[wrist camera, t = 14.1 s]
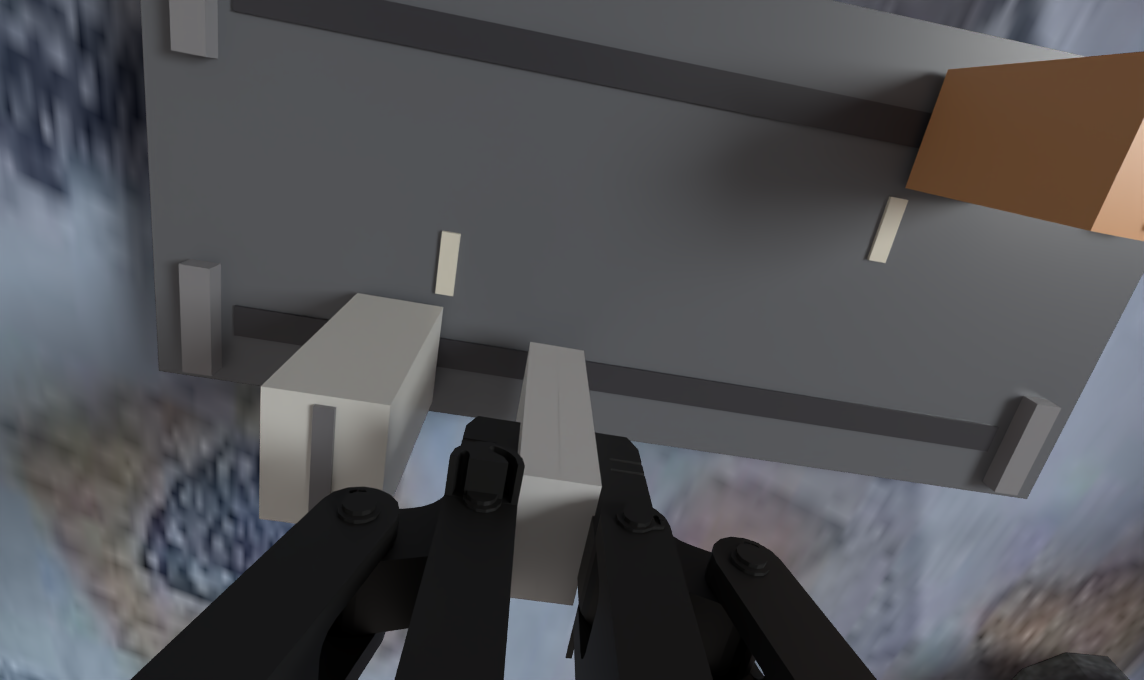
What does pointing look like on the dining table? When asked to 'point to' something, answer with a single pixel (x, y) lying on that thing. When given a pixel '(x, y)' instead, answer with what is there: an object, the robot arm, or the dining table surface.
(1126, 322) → the dining table surface
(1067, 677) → the mortar and pestle
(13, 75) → the dining table surface
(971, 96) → the orange fader
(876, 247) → the console
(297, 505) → the block
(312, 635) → the robot arm
